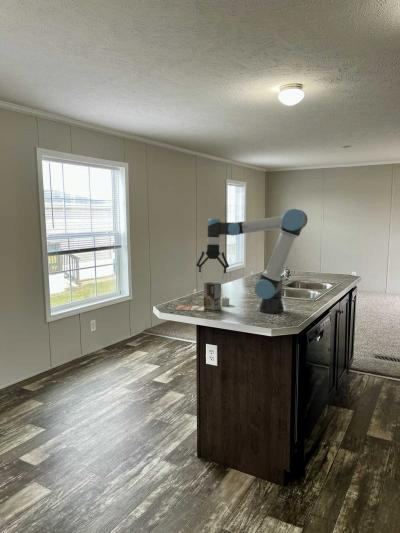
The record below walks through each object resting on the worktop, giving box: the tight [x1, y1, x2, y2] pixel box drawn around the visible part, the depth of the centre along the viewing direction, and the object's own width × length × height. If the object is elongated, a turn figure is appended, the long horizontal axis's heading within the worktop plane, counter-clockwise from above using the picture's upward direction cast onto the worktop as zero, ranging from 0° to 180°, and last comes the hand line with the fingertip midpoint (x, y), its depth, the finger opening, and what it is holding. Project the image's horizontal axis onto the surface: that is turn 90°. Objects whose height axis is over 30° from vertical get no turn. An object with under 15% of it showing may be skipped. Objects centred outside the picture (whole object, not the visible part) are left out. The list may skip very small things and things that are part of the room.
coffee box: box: [203, 281, 222, 311], centre depth 242 cm, size 9×6×16 cm
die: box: [220, 296, 230, 307], centre depth 256 cm, size 5×5×5 cm
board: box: [173, 304, 222, 313], centre depth 244 cm, size 28×14×1 cm, turn 83°
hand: (212, 278), depth 241 cm, fingers open, 13 cm apart
